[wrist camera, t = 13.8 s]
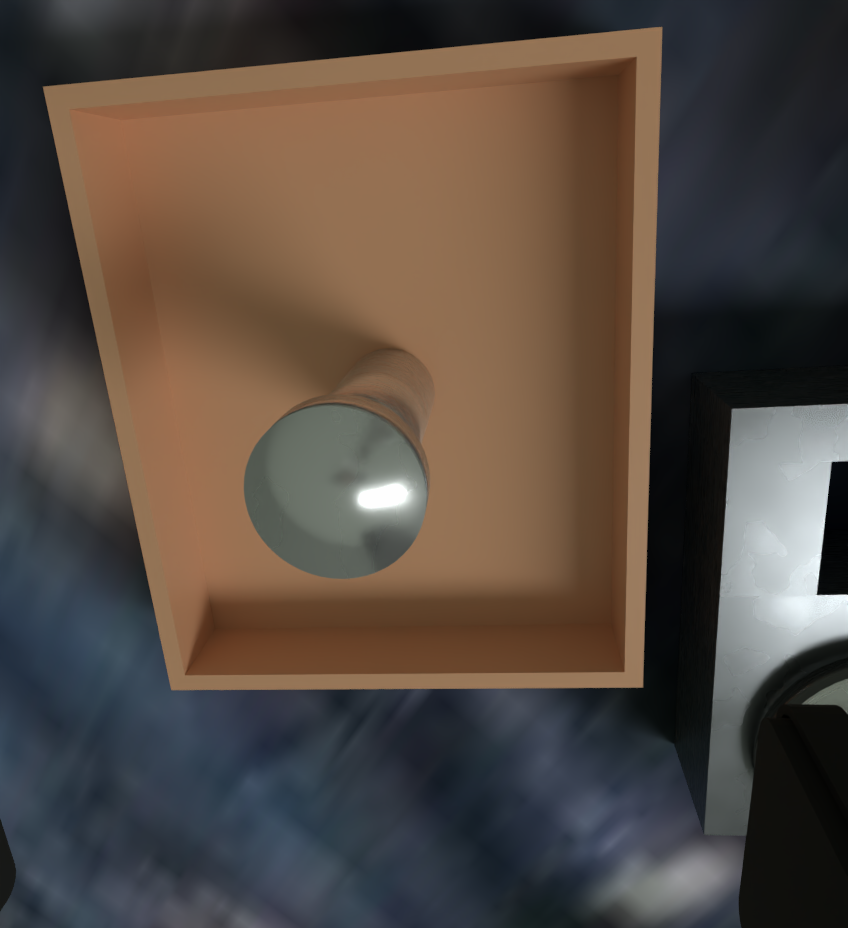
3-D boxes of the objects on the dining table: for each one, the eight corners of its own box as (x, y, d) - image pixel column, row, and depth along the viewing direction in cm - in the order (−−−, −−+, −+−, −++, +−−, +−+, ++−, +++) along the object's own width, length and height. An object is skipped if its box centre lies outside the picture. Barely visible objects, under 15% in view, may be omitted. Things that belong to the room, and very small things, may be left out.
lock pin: (324, 335, 33) (230, 410, 21) (446, 329, 33) (419, 402, 21) (337, 451, 35) (257, 580, 23) (453, 447, 34) (431, 577, 23)
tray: (109, 103, 32) (43, 86, 27) (635, 54, 29) (662, 26, 25) (209, 632, 40) (171, 690, 35) (624, 626, 38) (642, 687, 33)
